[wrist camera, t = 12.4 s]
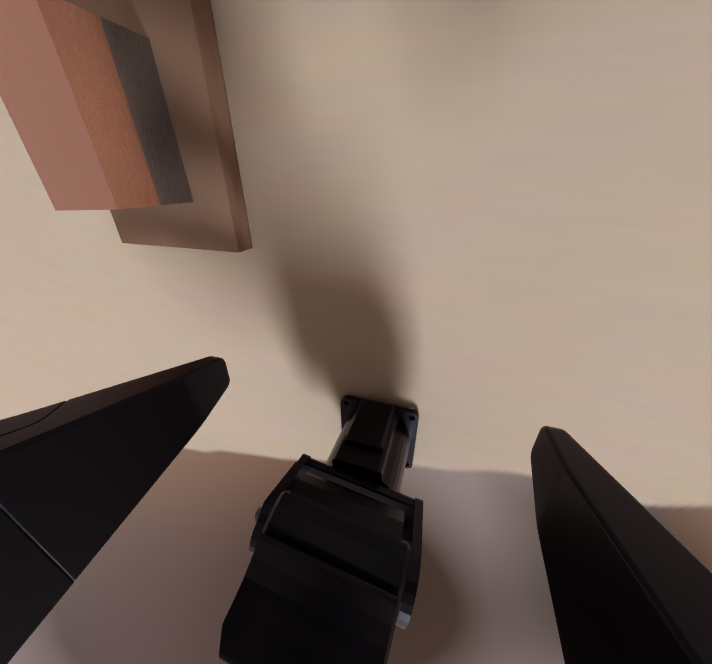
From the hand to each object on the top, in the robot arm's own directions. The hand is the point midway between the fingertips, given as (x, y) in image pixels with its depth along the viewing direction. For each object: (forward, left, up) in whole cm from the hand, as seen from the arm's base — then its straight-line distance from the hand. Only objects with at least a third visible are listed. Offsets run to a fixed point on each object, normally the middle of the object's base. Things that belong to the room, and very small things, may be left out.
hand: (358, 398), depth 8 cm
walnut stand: (+8, +18, -12) cm, 23 cm away
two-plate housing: (+8, +18, -10) cm, 22 cm away
